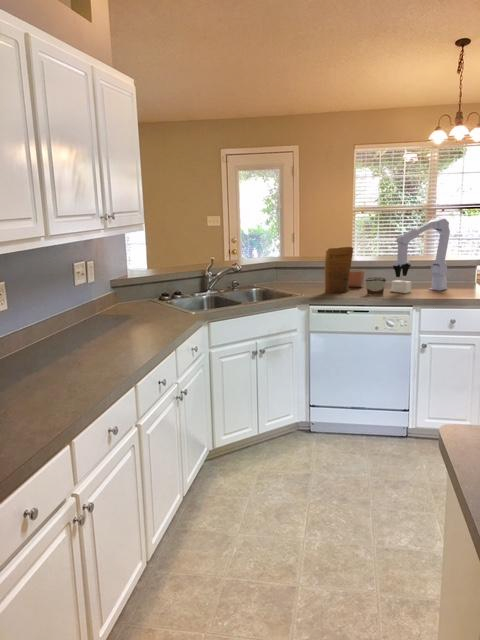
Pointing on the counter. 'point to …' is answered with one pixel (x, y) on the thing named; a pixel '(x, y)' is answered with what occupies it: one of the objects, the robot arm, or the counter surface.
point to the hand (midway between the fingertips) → (401, 276)
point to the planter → (356, 278)
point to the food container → (375, 285)
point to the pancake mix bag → (337, 269)
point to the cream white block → (401, 286)
